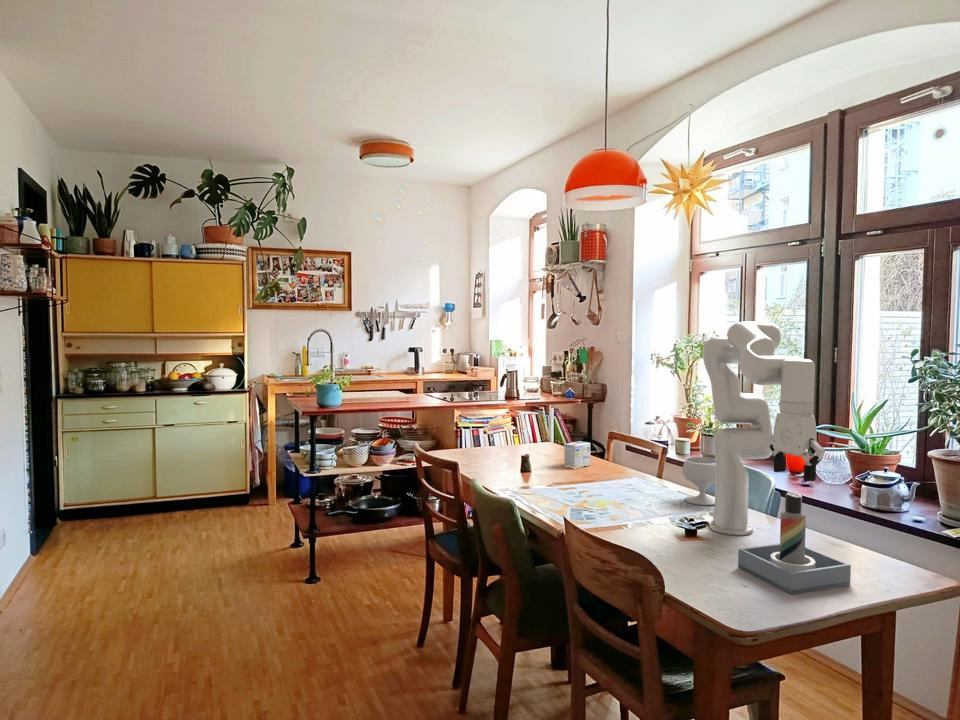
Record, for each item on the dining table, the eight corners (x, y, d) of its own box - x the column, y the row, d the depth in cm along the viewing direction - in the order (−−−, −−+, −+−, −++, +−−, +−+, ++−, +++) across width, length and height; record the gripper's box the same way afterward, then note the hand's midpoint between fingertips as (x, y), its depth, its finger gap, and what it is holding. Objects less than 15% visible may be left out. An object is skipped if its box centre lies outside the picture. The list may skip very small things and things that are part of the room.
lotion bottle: (782, 566, 168) (784, 489, 167) (806, 571, 164) (808, 493, 163) (776, 572, 163) (778, 494, 162) (801, 577, 160) (803, 497, 159)
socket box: (738, 567, 169) (738, 548, 169) (793, 559, 175) (793, 541, 175) (791, 594, 152) (791, 573, 152) (850, 585, 158) (850, 564, 158)
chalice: (707, 509, 223) (708, 466, 223) (673, 500, 235) (674, 459, 234) (731, 502, 232) (731, 461, 231) (697, 494, 243) (698, 454, 242)
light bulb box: (579, 464, 297) (579, 440, 296) (591, 466, 292) (591, 442, 291) (563, 467, 290) (563, 443, 289) (574, 469, 285) (575, 445, 284)
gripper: (759, 404, 168) (756, 469, 170) (812, 414, 152) (809, 486, 153) (782, 403, 171) (780, 467, 172) (837, 412, 154) (834, 483, 156)
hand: (794, 476), depth 163 cm, fingers open, 9 cm apart
